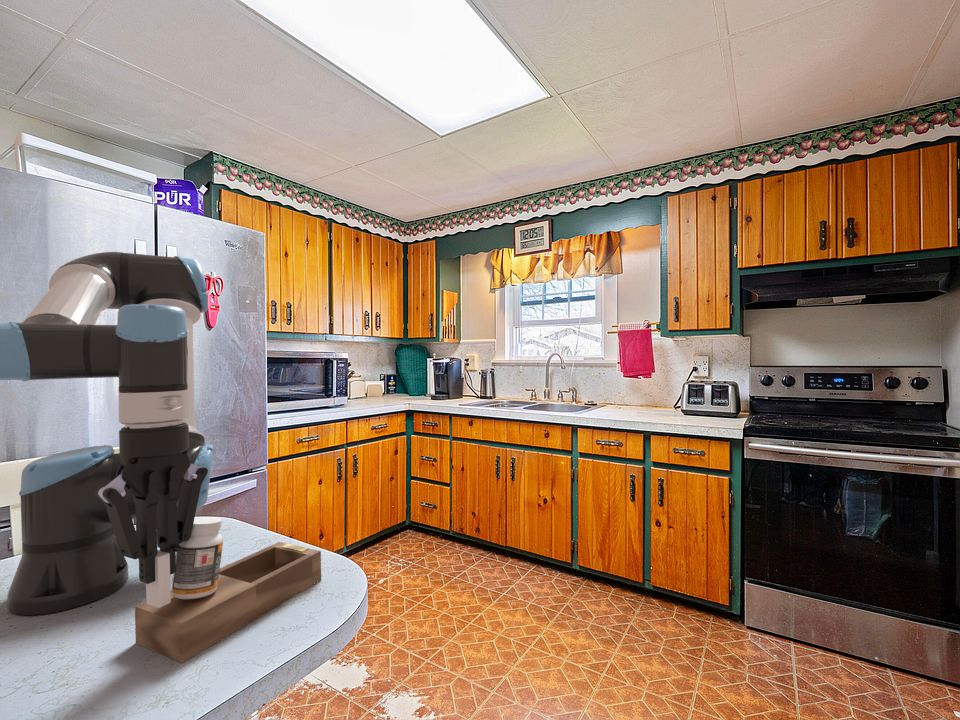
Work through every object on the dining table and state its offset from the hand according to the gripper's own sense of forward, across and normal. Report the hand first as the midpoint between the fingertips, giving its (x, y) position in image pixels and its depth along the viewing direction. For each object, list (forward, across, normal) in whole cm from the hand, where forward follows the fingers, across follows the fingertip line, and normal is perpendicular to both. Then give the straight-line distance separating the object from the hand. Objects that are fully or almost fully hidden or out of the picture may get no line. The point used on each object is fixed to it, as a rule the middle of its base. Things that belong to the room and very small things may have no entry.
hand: (158, 602), depth 62 cm
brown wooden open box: (+7, +12, 0) cm, 14 cm away
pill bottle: (+1, +5, 0) cm, 5 cm away
